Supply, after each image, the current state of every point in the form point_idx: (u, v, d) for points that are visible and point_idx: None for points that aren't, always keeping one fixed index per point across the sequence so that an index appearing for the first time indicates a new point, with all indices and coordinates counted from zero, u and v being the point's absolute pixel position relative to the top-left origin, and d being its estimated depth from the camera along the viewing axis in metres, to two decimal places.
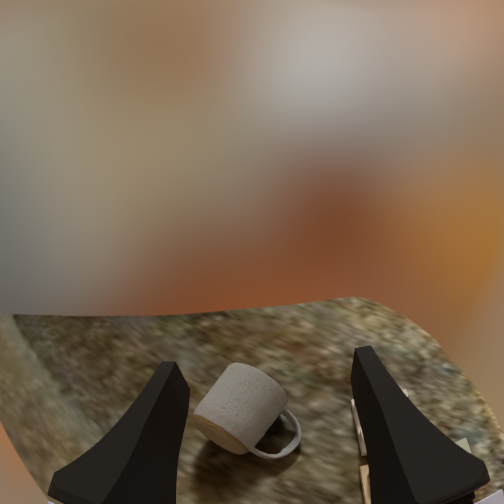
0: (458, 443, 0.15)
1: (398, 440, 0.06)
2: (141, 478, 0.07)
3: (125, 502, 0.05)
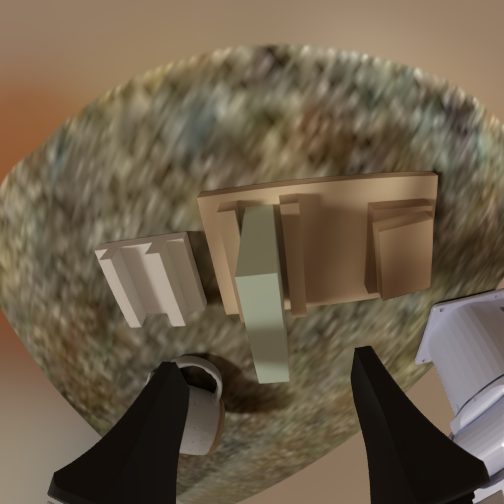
0: (244, 293, 0.12)
1: (398, 440, 0.06)
2: (141, 478, 0.07)
3: (125, 502, 0.05)
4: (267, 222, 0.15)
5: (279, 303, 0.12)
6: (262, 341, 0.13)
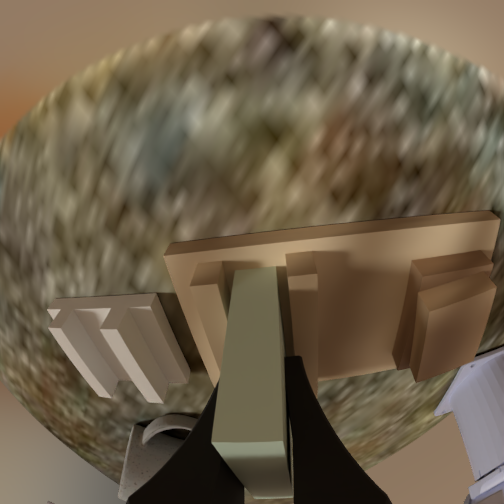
0: (229, 454, 0.06)
1: (300, 457, 0.06)
2: (226, 488, 0.06)
3: None
4: (267, 308, 0.09)
5: (284, 460, 0.06)
6: (258, 481, 0.07)
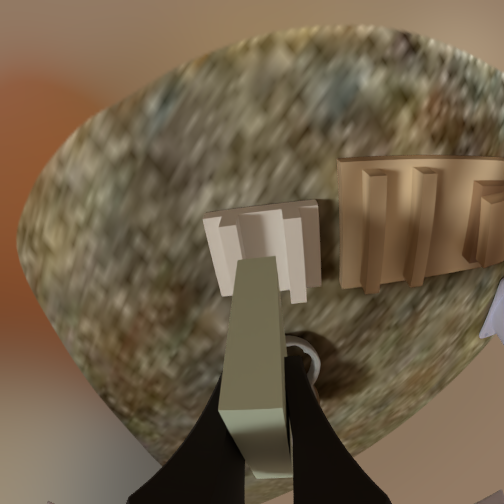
0: (233, 423, 0.07)
1: (300, 457, 0.06)
2: (226, 488, 0.06)
3: None
4: (267, 292, 0.10)
5: (284, 431, 0.07)
6: (260, 455, 0.08)
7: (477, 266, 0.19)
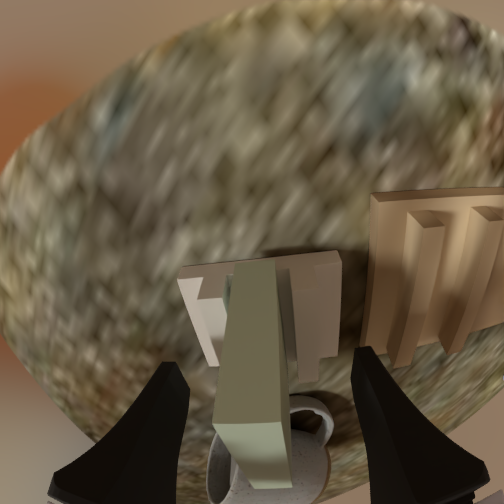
0: (229, 437, 0.06)
1: (398, 440, 0.06)
2: (141, 478, 0.07)
3: (125, 502, 0.05)
4: (266, 298, 0.10)
5: (282, 444, 0.07)
6: (258, 468, 0.08)
7: None
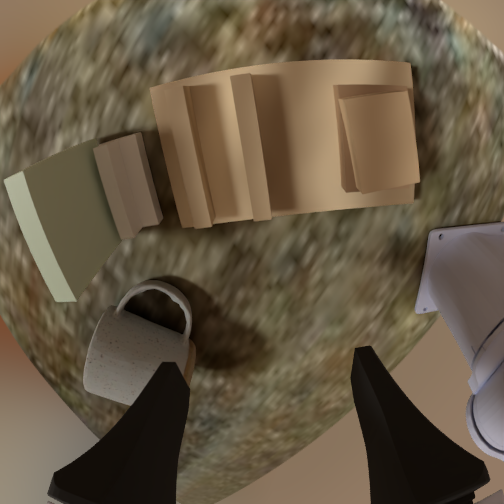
0: (11, 194, 0.10)
1: (398, 440, 0.06)
2: (141, 478, 0.07)
3: (125, 502, 0.05)
4: (71, 147, 0.14)
5: (31, 201, 0.10)
6: (36, 246, 0.12)
7: (375, 204, 0.17)
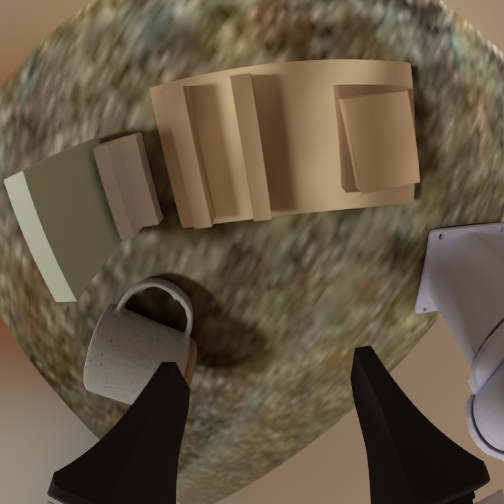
0: (11, 194, 0.10)
1: (398, 440, 0.06)
2: (141, 478, 0.07)
3: (125, 502, 0.05)
4: (71, 147, 0.14)
5: (31, 201, 0.10)
6: (36, 246, 0.12)
7: (375, 204, 0.17)
